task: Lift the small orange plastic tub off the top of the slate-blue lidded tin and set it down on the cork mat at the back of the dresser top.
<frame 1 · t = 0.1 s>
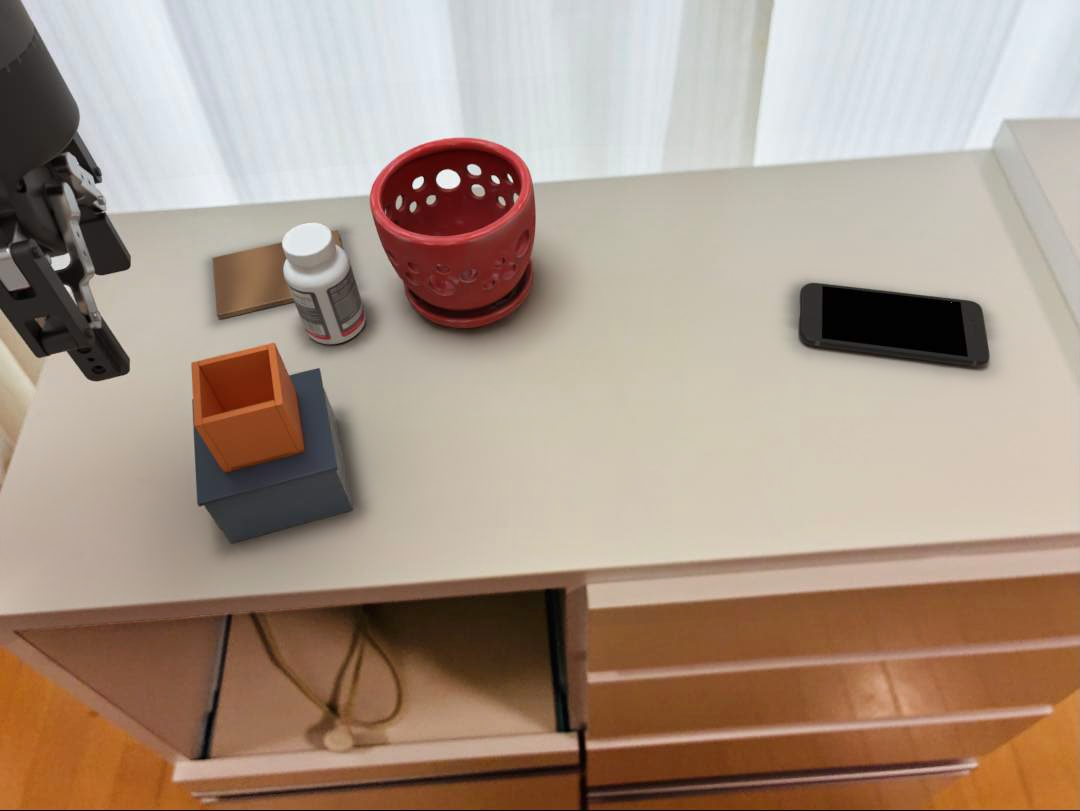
hand: (113, 318, 46), 20 cm above the dresser, tool pointing down, fingers open, 8 cm apart
blue tin: (286, 477, 63), on the dresser, touching orange tub
orange tub: (261, 431, 58), point 6 cm above the dresser, touching blue tin
cork mat: (281, 275, 77), on the dresser
pill bottle: (336, 325, 73), on the dresser
smartphone: (888, 327, 70), on the dresser
flower pot: (467, 293, 75), on the dresser
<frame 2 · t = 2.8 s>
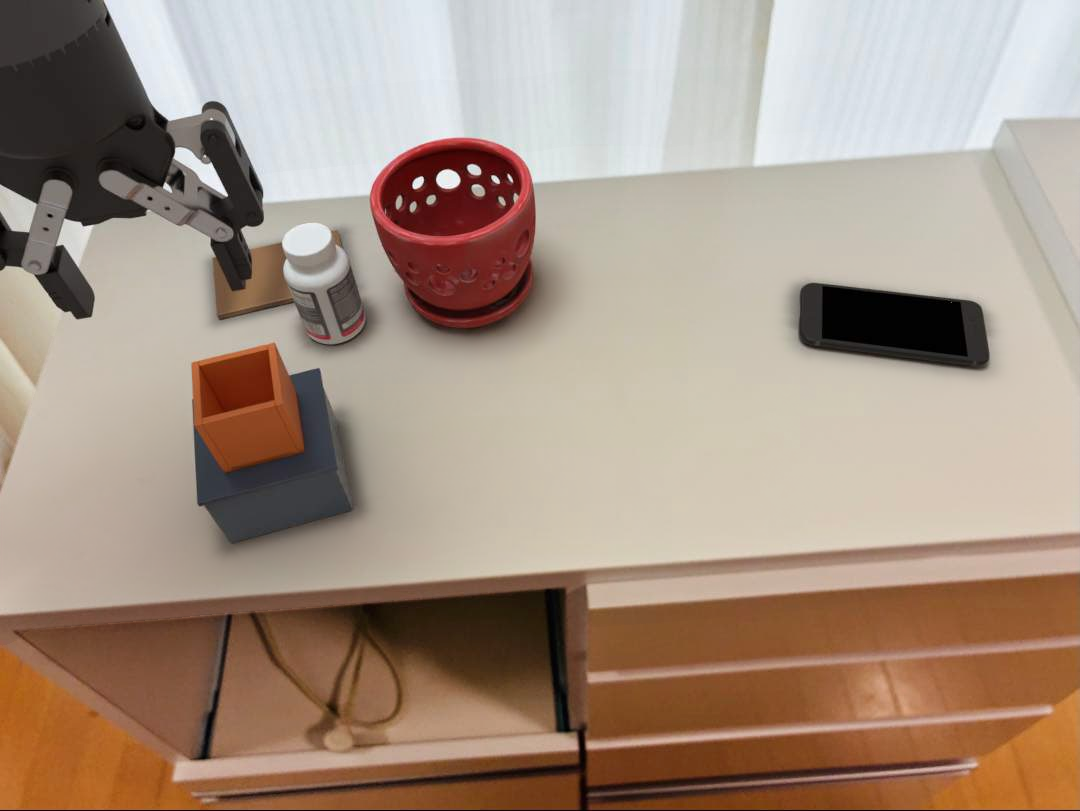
hand: (164, 294, 47), 20 cm above the dresser, tool pointing down, fingers open, 8 cm apart
nothing on the dresser moved.
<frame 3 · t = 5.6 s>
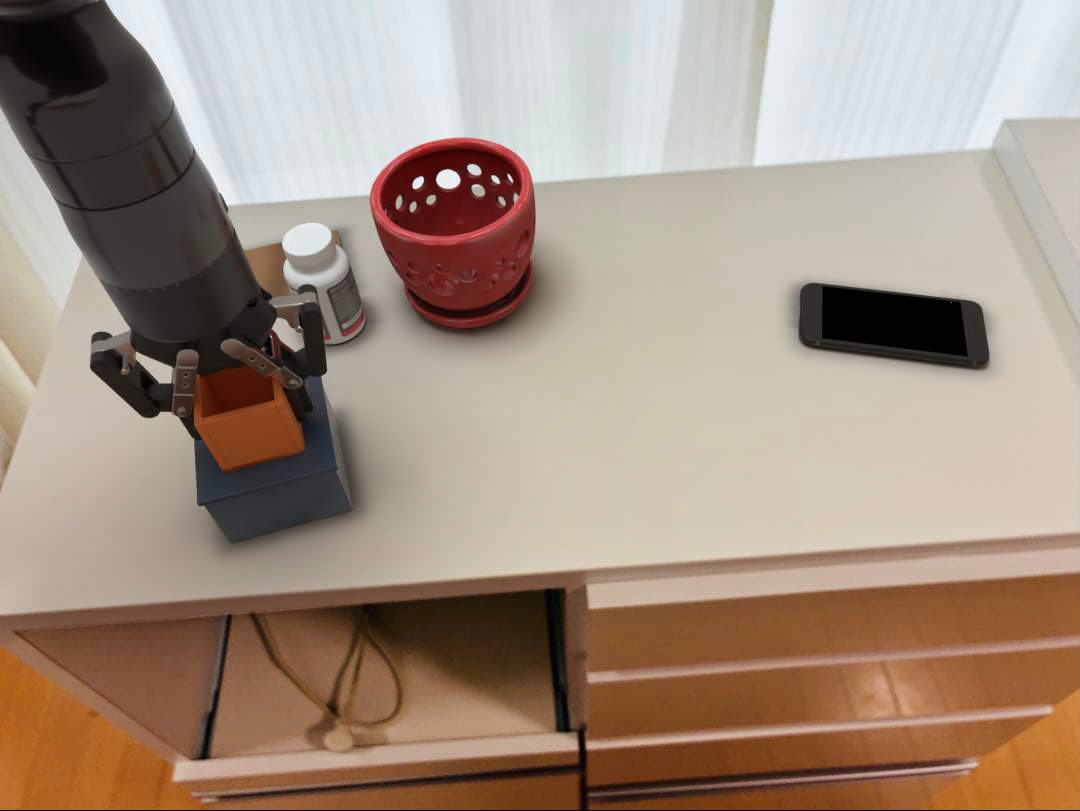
hand: (257, 422, 58), 7 cm above the dresser, tool pointing down, fingers closed on orange tub, 5 cm apart
orange tub: (261, 431, 58), point 6 cm above the dresser, touching blue tin, gripper
everything else where it was.
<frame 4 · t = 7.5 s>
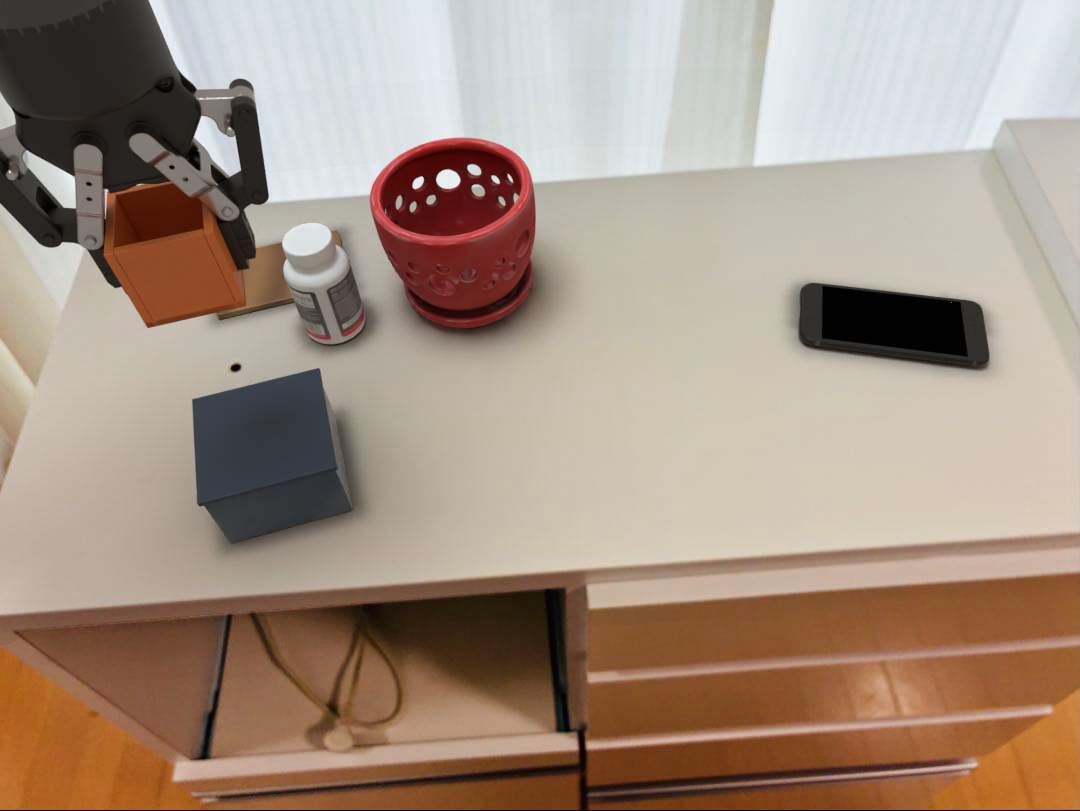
hand: (189, 271, 48), 20 cm above the dresser, tool pointing down, fingers closed on orange tub, 5 cm apart
blue tin: (285, 477, 63), on the dresser
orange tub: (195, 285, 49), point 19 cm above the dresser, touching gripper
everything else where it was.
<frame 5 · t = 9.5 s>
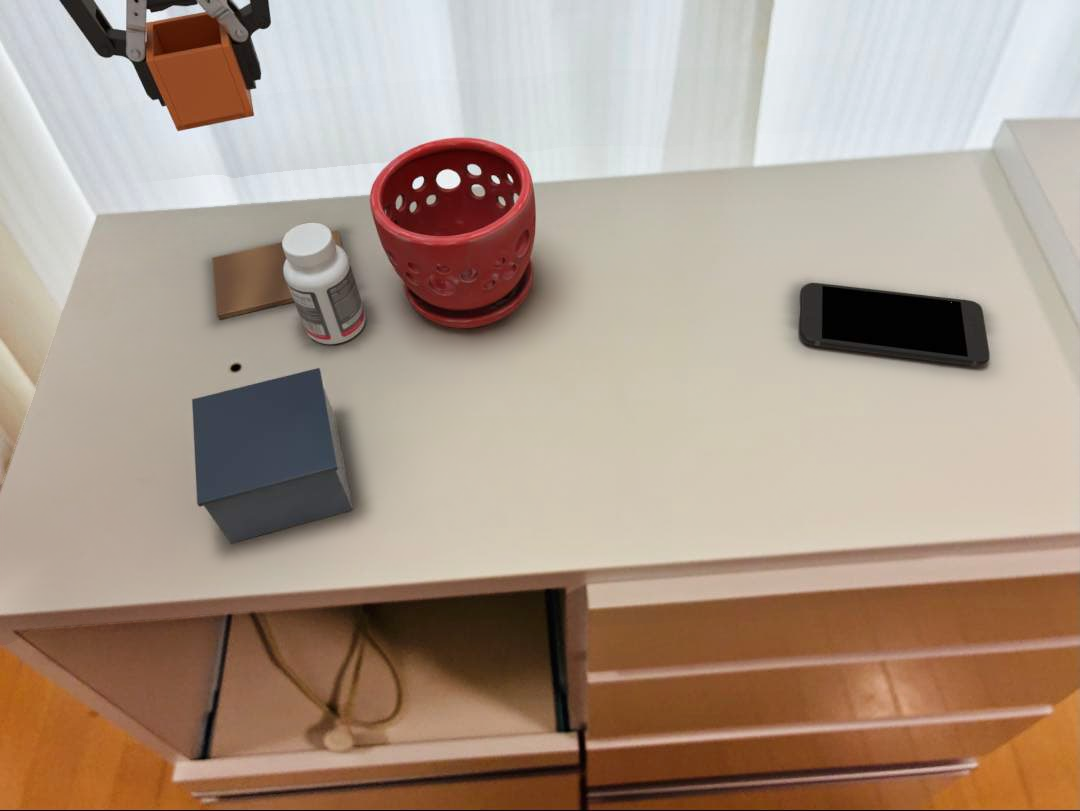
hand: (209, 91, 62), 19 cm above the dresser, tool pointing down, fingers closed on orange tub, 5 cm apart
orange tub: (214, 103, 63), point 18 cm above the dresser, touching gripper
everything else where it was.
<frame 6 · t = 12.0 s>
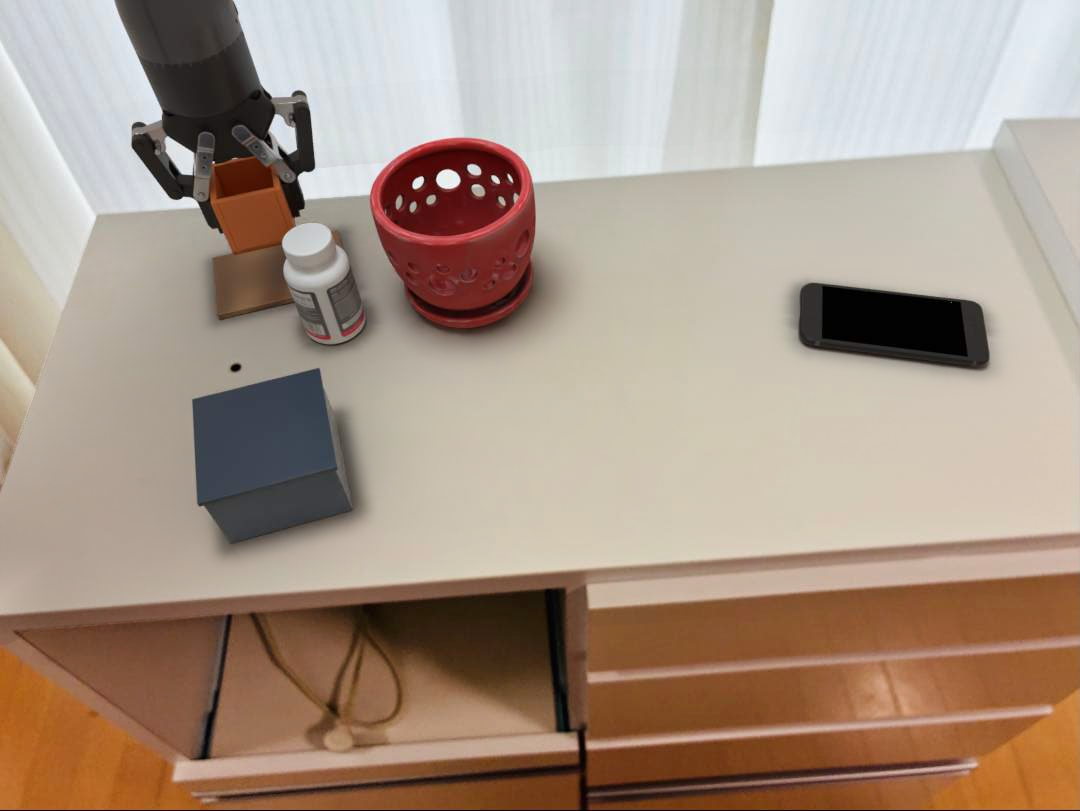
hand: (260, 218, 72), 7 cm above the dresser, tool pointing down, fingers closed on orange tub, 5 cm apart
orange tub: (263, 228, 73), point 6 cm above the dresser, touching gripper
everything else where it was.
when the fingers open (2 cm above the dresser, at t = 13.8 s): orange tub stays where it is, resting on cork mat.
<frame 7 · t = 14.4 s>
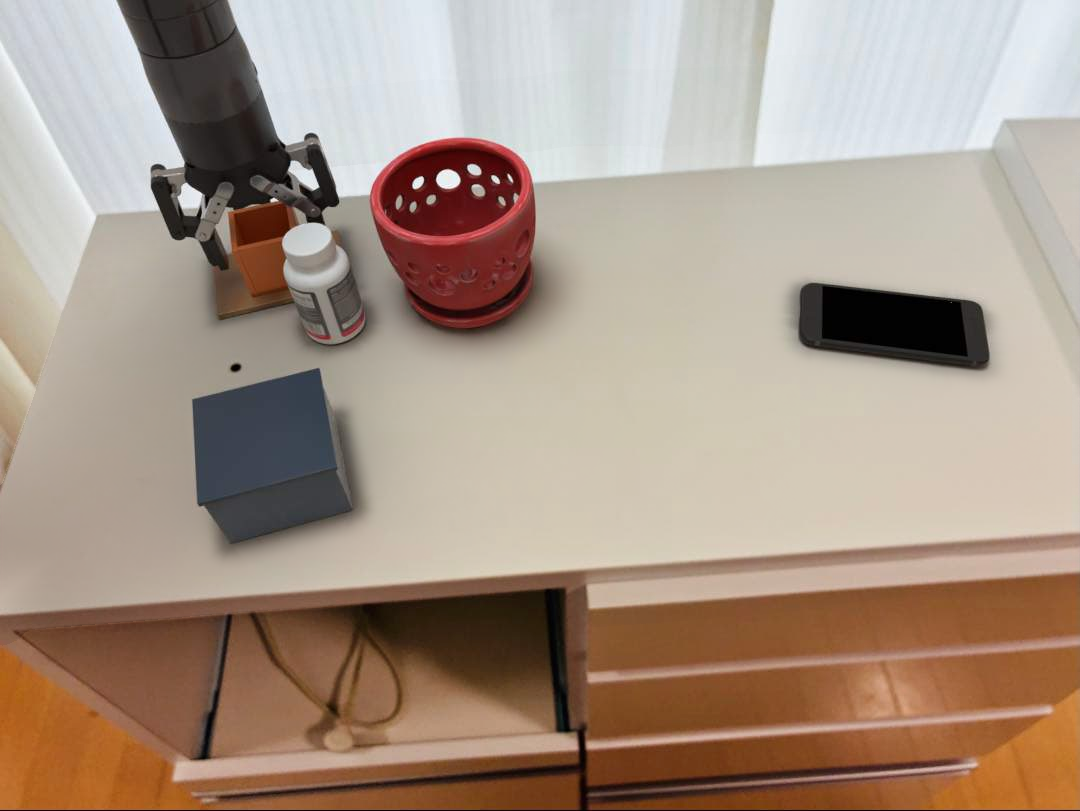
hand: (272, 253, 75), 3 cm above the dresser, tool pointing down, fingers open, 8 cm apart
orange tub: (280, 270, 77), point 1 cm above the dresser, touching cork mat
everything else where it was.
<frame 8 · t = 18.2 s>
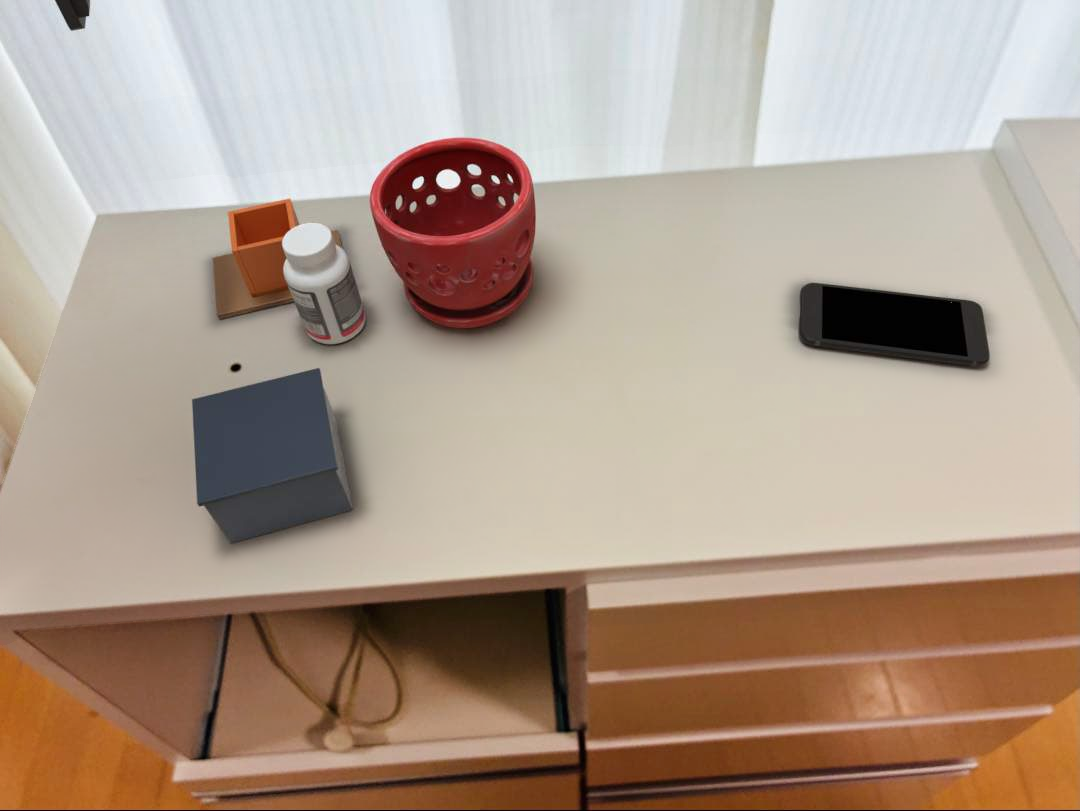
nothing on the dresser moved.
at the end: orange tub inside the target area on the cork mat (0.0 cm from its centre), point 0.6 cm above the cork mat's base; orange tub tilted 0°; blue tin moved 0.0 cm from its start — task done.
